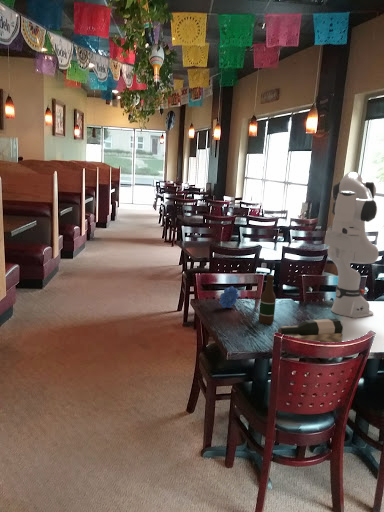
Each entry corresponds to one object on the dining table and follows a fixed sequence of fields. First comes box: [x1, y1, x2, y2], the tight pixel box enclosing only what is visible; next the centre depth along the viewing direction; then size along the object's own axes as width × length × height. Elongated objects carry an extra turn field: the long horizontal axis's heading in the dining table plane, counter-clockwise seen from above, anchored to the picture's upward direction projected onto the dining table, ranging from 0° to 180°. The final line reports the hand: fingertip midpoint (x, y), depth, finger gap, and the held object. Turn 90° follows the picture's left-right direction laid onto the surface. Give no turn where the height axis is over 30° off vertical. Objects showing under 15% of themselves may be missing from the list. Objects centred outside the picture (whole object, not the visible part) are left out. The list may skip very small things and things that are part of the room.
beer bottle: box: [257, 274, 277, 325], centre depth 208 cm, size 8×8×24 cm
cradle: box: [283, 325, 343, 343], centre depth 192 cm, size 24×13×4 cm, turn 107°
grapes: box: [219, 285, 239, 309], centre depth 228 cm, size 12×7×12 cm, turn 116°
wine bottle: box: [277, 318, 344, 336], centre depth 191 cm, size 8×8×30 cm
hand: (338, 258), depth 190 cm, fingers closed
